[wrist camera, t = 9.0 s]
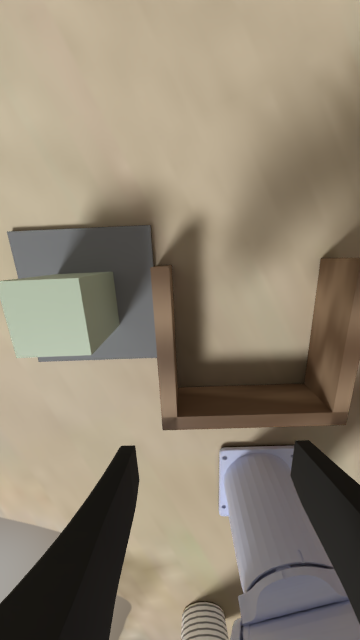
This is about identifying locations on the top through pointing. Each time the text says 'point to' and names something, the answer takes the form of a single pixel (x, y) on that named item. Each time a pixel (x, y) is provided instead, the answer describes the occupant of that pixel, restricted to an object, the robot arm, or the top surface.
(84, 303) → the block
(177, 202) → the top surface
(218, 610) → the cup
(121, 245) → the mat
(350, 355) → the wooden u-shaped shelf
